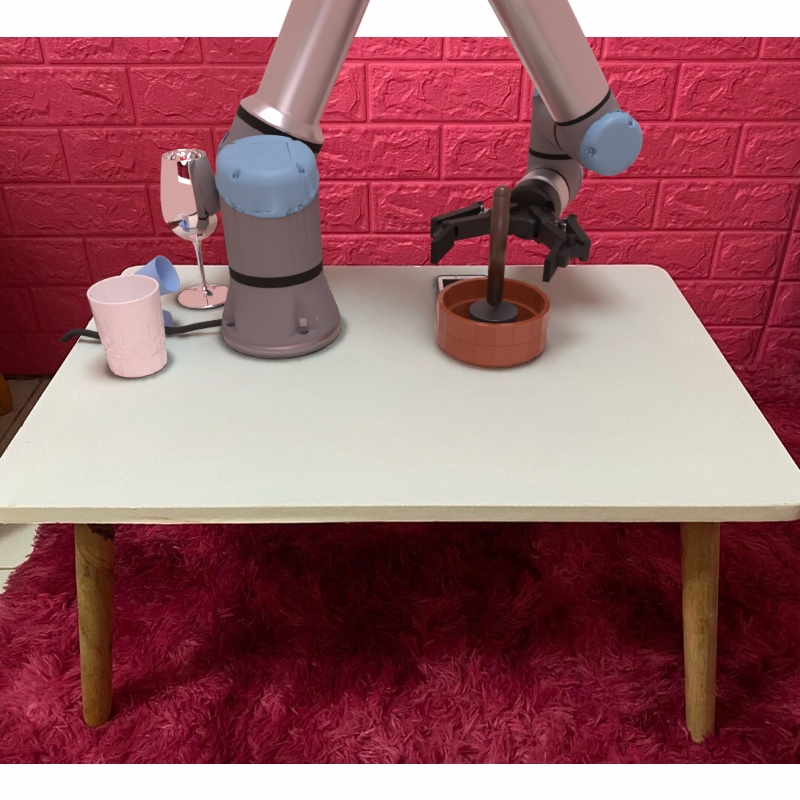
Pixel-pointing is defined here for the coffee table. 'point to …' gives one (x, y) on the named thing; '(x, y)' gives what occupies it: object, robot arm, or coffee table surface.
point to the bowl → (487, 339)
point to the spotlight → (162, 280)
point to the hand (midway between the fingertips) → (488, 262)
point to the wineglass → (192, 214)
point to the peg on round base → (496, 266)
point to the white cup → (130, 324)
